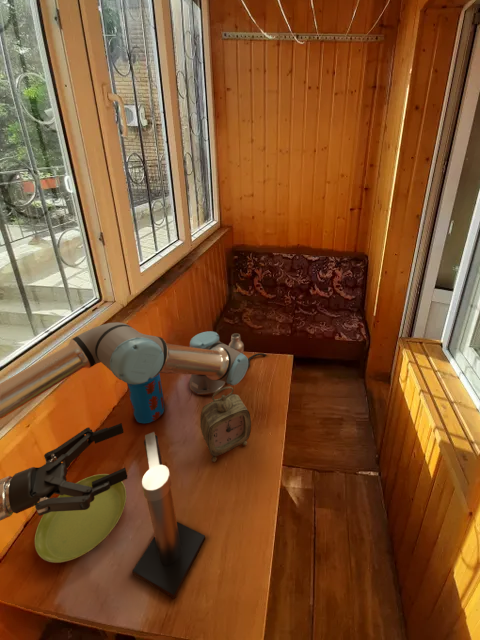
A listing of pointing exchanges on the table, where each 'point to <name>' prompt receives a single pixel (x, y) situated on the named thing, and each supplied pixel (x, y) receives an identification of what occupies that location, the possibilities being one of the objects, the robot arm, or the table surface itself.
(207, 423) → the tabletop clock
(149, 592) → the table surface
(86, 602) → the table surface
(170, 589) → the standpipe
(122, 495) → the green plate
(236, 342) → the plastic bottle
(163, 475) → the spout
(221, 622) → the table surface
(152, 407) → the thermos
